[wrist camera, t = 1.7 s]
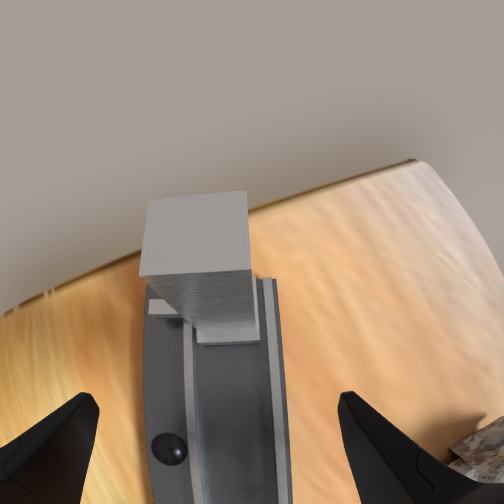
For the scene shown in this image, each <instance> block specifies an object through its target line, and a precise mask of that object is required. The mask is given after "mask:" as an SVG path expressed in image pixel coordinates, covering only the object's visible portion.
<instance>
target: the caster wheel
mask: <svg viewBox="0 0 504 504" xmlns="http://www.w3.org/2000/svg"><path fill="white" fill-rule="evenodd" d="M449 448H450V449H451V450H452V451H454V452H455V453H456V454H457V455H458V456H460V458H458V459H457V460H455V461H453V462H452V463H451V464H450V465H448V466H449V467H450V468H452V469H454V470H456V471H458V472H459V473H461V474H463V475H465V476H467V477H469V478H471V479H473V480H475V481H478V482H483V483H504V416H501V417H500V418H498V419H497V420H495V421H494V422H492V423H490V424H489V425H487V426H486V427H484V428H482V429H481V430H479V431H477V432H475V433H474V434H472V435H470V436H468V437H466V438H465V439H463V440H461V441H459V442H457V443H455V444H453V445H452V446H450V447H449Z"/></svg>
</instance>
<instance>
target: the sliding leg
mask: <svg viewBox="0 0 504 504" xmlns="http://www.w3.org/2000/svg"><path fill="white" fill-rule="evenodd" d="M139 276H140V277H141V278H142V279H143V280H144V281H145V282H146V283H147V284H148V285H149V286H150V287H151V288H152V289H153V290H154V291H155V292H156V293H157V294H158V295H159V296H160V297H161V298H162V299H149V313H148V314H149V315H150V316H152V317H153V318H158V319H163V318H182V317H183V318H184V319H185V320H187V321H188V322H189V323H190V324H191V325H192V326H193V327H195V328H196V329H197V343H198V344H200V345H201V346H208V345H235V344H253V343H260V332H259V318H258V304H257V289H256V275H252V262H251V249H250V235H249V221H248V207H247V194H246V191H233V192H220V193H208V194H198V195H188V196H179V197H169V198H161V199H152V200H149V204H148V210H147V216H146V223H145V230H144V236H143V244H142V251H141V260H140V269H139Z"/></svg>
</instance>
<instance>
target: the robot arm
mask: <svg viewBox="0 0 504 504" xmlns="http://www.w3.org/2000/svg"><path fill="white" fill-rule="evenodd" d="M99 412H100V410H99V407H98V405H97V403H96V402H95V400H94V398H93V396H92V395H91V394H90V393H85V392H80V393H79V394H77V395H76V396H75V397H73V398H72V399H70V400H69V401H68V402H66V403H65V404H64V405H62V406H61V407H59V408H58V409H57V410H55V411H54V412H52V413H51V414H50V415H48V416H47V417H45V418H44V419H43V420H41V421H40V422H38V423H37V424H35V425H34V426H33V427H31V428H30V429H28V430H27V431H26V432H24V433H23V434H21V435H20V436H18V437H17V438H16V439H14V440H13V441H11V442H10V443H8V444H6V445H5V446H3V447H1V448H0V504H80V501H81V496H82V491H83V486H84V482H85V478H86V473H87V469H88V465H89V461H90V457H91V454H92V450H93V446H94V441H95V435H96V429H97V424H98V418H99ZM338 417H339V422H340V427H341V432H342V438H343V443H344V448H345V452H346V455H347V458H348V461H349V465H350V468H351V471H352V474H353V477H354V480H355V484H356V487H357V490H358V493H359V497H360V500H361V503H362V504H504V483H483V482H478V481H475V480H473V479H471V478H469V477H467V476H465V475H463V474H461V473H459V472H458V471H456V470H454V469H452V468H450V467H449V466H447V465H445V464H444V463H442V462H441V461H439V460H437V459H436V458H435V457H433V456H432V455H430V454H429V453H428V452H426V451H425V450H424V449H423V448H421V447H419V445H418V444H416V443H415V442H414V441H413V440H411V439H410V438H409V437H408V436H406V435H405V434H404V433H403V432H401V431H400V430H399V429H398V428H397V427H395V426H394V425H393V424H392V423H391V422H389V421H388V420H387V419H386V418H385V417H383V416H382V415H381V414H380V413H379V412H377V411H376V410H375V409H374V408H373V407H371V406H370V405H369V404H368V403H367V402H366V401H364V400H363V399H362V398H361V397H360V396H359V395H357V394H356V393H355V392H354V391H348V392H343V393H341V395H340V399H339V404H338Z"/></svg>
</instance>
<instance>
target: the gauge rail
mask: <svg viewBox="0 0 504 504" xmlns="http://www.w3.org/2000/svg"><path fill="white" fill-rule="evenodd" d="M256 289H257V304H258V318H259V332H260V343H253V344H235V345H208V346H201V345H200V344H198V343H197V329H196V328H195V327H193V326H192V325H191V324H190V323H189V322H188V321H187V320H185V319H184V318H183V317H182V318H163V319H158V318H153V317H152V316H150V315H149V314H148V313H149V299H162V298H161V297H160V296H159V295H158V294H157V293H156V292H155V291H154V290H153V289H152V288H151V287H150V286H146V296H145V312H144V338H143V389H144V414H145V429H146V441H147V452H148V461H149V469H150V477H151V484H152V491H153V497H154V503H155V504H293V496H292V476H291V458H290V441H289V426H288V412H287V398H286V385H285V372H284V360H283V348H282V336H281V325H280V314H279V304H278V293H277V283H276V279H272V278H271V277H269V278H263V280H256Z"/></svg>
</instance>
